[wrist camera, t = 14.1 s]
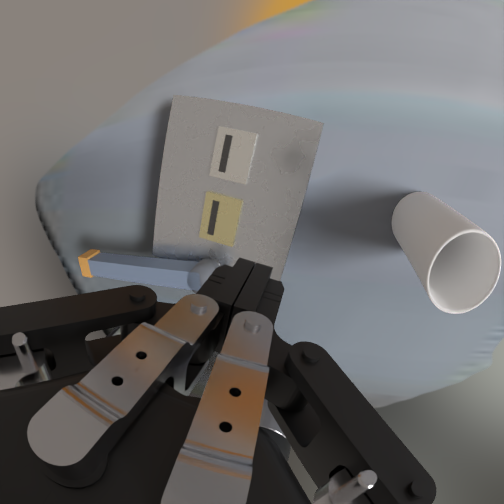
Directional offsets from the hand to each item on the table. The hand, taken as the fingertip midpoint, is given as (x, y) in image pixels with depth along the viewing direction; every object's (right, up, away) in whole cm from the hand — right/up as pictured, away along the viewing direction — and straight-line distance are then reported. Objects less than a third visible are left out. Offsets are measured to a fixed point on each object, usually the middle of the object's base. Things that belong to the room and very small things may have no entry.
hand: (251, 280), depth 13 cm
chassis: (-2, +10, +27) cm, 28 cm away
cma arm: (-15, -1, +27) cm, 31 cm away
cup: (+22, +5, +22) cm, 32 cm away
